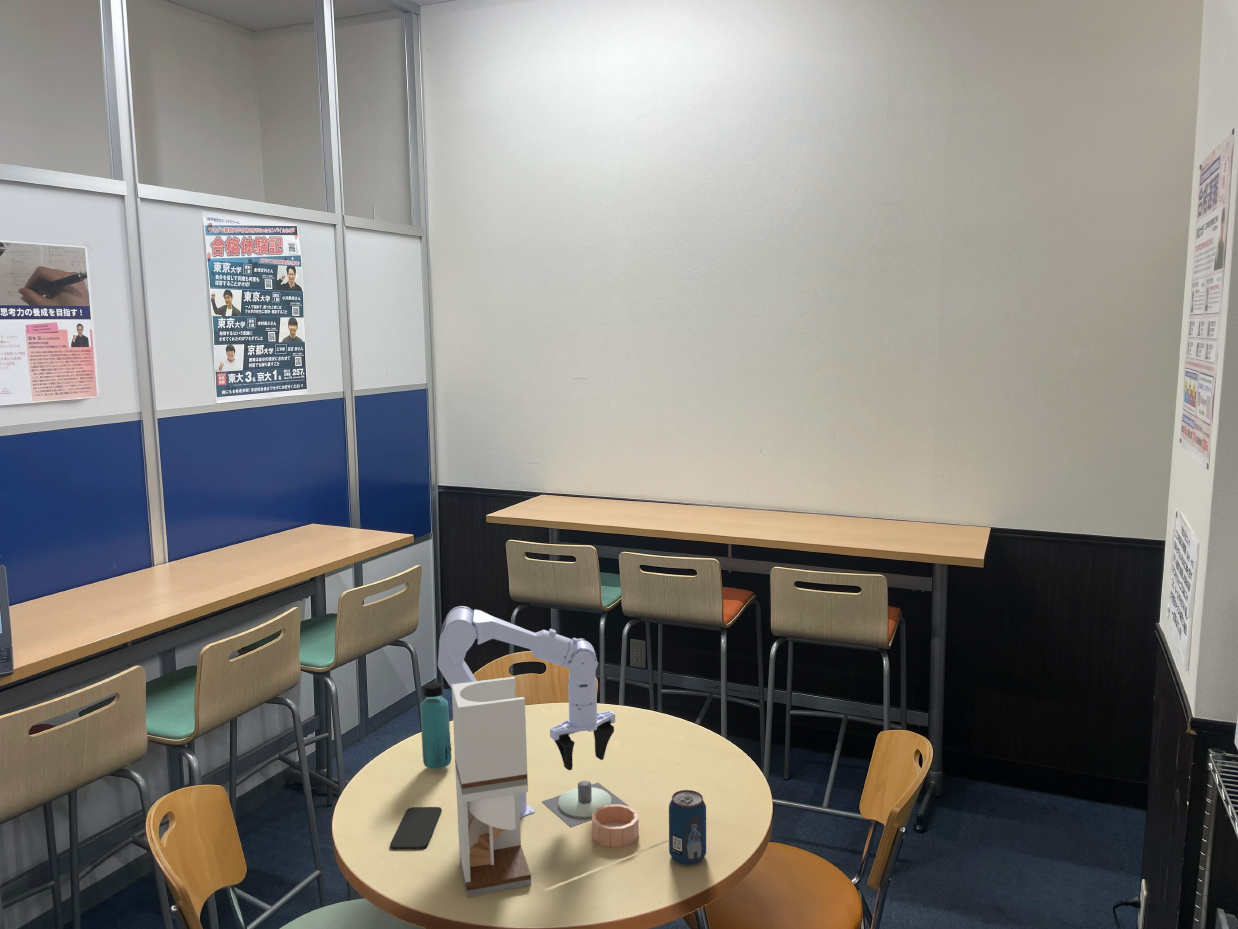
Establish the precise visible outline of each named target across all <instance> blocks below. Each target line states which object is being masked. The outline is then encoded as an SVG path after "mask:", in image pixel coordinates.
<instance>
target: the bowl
mask: <svg viewBox="0 0 1238 929" xmlns="http://www.w3.org/2000/svg"><path fill="white" fill-rule="evenodd" d="M639 821H640V820H639V813H638V811H637V810H636V809H634V808H633V807H632V806H630V805H629V806H626V805H621V804H611V805H605V806H603V807H600V808H597V809H596V810H595V811H594V812H593V813H592V820H591V834H592V835H591V836H592V839H593V840H594V841H595V842H596V843H597V844H598V845H601V846H605V847H608V848H621V847H626V846H628V845H631V844H632V843H633V844H634V842H635V841H636V840H637V839H638V837H639V836H640V833H639V831H640V830H639V828H640V827H639Z"/></svg>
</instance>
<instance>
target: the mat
mask: <svg viewBox="0 0 1238 929" xmlns="http://www.w3.org/2000/svg"><path fill="white" fill-rule="evenodd" d="M591 787H594V788H598V789H602V790H604V791H606V792H607V793H608V794H609V795H610V796H611V804H621V805H626V806H630V805H628V804H627V803H626V802H624V801H623V800H622V799H621V798H620V797H618V796H617V795H615V794H614V793H612V791H610V790H609V789H607V788H606V787H605V786H603V785H602V784H601V783H599V782H596V783H591ZM561 795H562V794H560V795H557V796H554V797H551V798H549V799H548V798H547V799H545V800H543V801H541V803H542V804H543V805H544V806H545V807H547V809H548V810H550V811H551V812H552V813H554V814H555V815H556V816H557V817H558V818H559V819H560V820H561V821H562V822H564V823H565V824H566V825H567V826H568V827H569V828H574V827H576V826H579V825H581V824H584V823H586V822H590V821H592V817H589V818H577V817H572V816H569V815H566V814H565V813H563V812H562V811H561V810H560V809H559V804H558V801H559V798H560V796H561Z"/></svg>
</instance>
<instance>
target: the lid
mask: <svg viewBox="0 0 1238 929" xmlns="http://www.w3.org/2000/svg"><path fill="white" fill-rule="evenodd" d="M591 785H592V782H591V781H590V780H580V781H579V782H577V787H575V788H572V789H569V790H566V791H564V793H562V794H560V795H561V796H560V798H559V801H558V804H559V809H560V810H561V811H562V812H563V813H565V814H566V815H569V816H572V817H577V818H589V817H592V813H593V812H594V811H595V810H596V809H597V808H600V807H603V806H605V805H611V796H610V795H609V794H608V793H607V792H606V791H604V790H602V789H598V788H594V787H591Z"/></svg>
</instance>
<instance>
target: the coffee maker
mask: <svg viewBox="0 0 1238 929" xmlns="http://www.w3.org/2000/svg"><path fill="white" fill-rule="evenodd" d="M516 691H517V690H516V678H515V676H510V677H502V678H500V677H499V678H492V679H491V678H490V679H484V680H477V681H475V682H467V683H459V684H452V689H451V698H452V699H451V700H452V701H451V702H452V719H453V720H452V722H453V723H452V724H453V725H452V726H453V741H454V742H453V743H454V764H455V765H454V766H455V785H456V787H455V789H456V790H455V791H456V807H457V808H456V809H457V826H458V827H457V830H458V831H457V833H458V852H459V854H458V855H459V866H460V871H461V875H462V880H463V886H464V890H465V893H466V897H467V898H470V897H474V896H476V897H477V896H480V895H487V894H491V893H496V892H497V893H498V892H501V891H502V892H503V891H507V890H512V889H518V888H523V887H528V886H531V885H532V873H531V871H530V868H529V865H528V863H527V859H526V856H525V852H524V850H523V846H522V843H521V842H522V840H521V839H522V837H521V835H522V834H521V818H520V803H519V793H525V792H526V793H528V792H529V788H528V786H529V785H528V780H529V779H528V757H527V756H528V755H527V754H528V752H527V726H526V723H527V722H526V719H527V718H526V702H525V701H526V699H525V697H524V696H520V697H517V695H516Z"/></svg>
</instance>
